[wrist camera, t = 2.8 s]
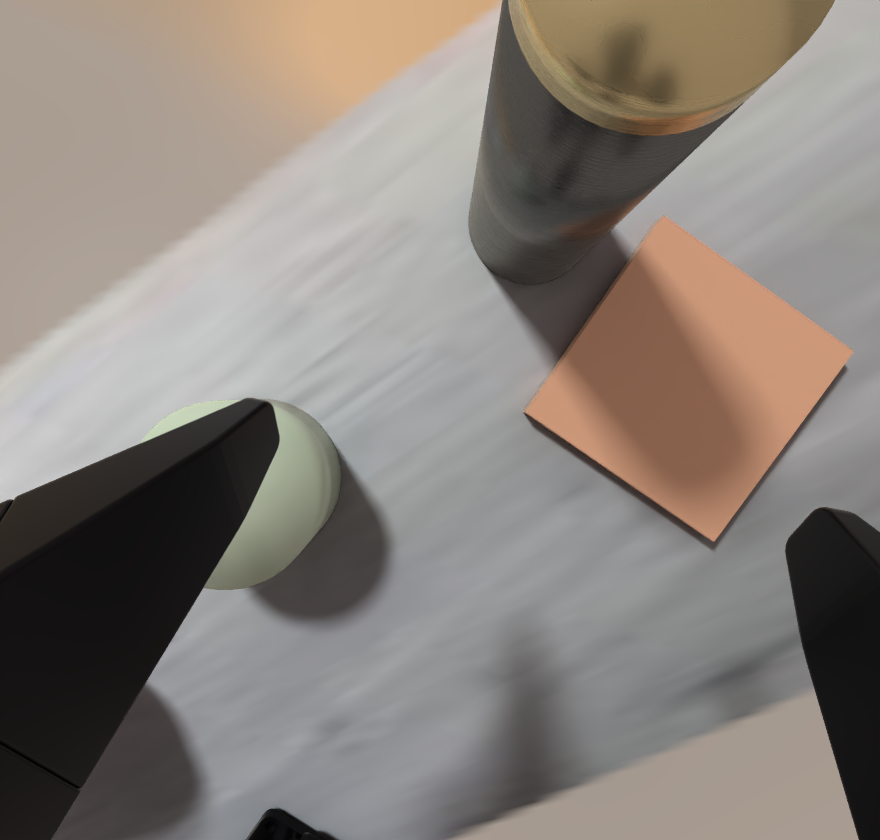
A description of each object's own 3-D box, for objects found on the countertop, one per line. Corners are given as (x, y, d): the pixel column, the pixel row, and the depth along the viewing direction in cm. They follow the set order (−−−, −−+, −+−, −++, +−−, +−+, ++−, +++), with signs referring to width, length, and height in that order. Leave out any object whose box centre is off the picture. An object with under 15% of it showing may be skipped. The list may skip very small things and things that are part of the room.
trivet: (703, 536, 20) (713, 541, 20) (523, 411, 20) (526, 412, 19) (837, 353, 20) (854, 351, 19) (654, 222, 19) (663, 215, 19)
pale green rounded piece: (287, 580, 21) (251, 625, 17) (158, 496, 20) (90, 522, 16) (371, 455, 20) (354, 471, 16) (240, 368, 20) (191, 363, 16)
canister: (545, 308, 20) (720, 167, 7) (444, 238, 20) (450, -28, 7) (616, 204, 19) (923, -124, 7) (515, 132, 19) (648, -335, 7)
